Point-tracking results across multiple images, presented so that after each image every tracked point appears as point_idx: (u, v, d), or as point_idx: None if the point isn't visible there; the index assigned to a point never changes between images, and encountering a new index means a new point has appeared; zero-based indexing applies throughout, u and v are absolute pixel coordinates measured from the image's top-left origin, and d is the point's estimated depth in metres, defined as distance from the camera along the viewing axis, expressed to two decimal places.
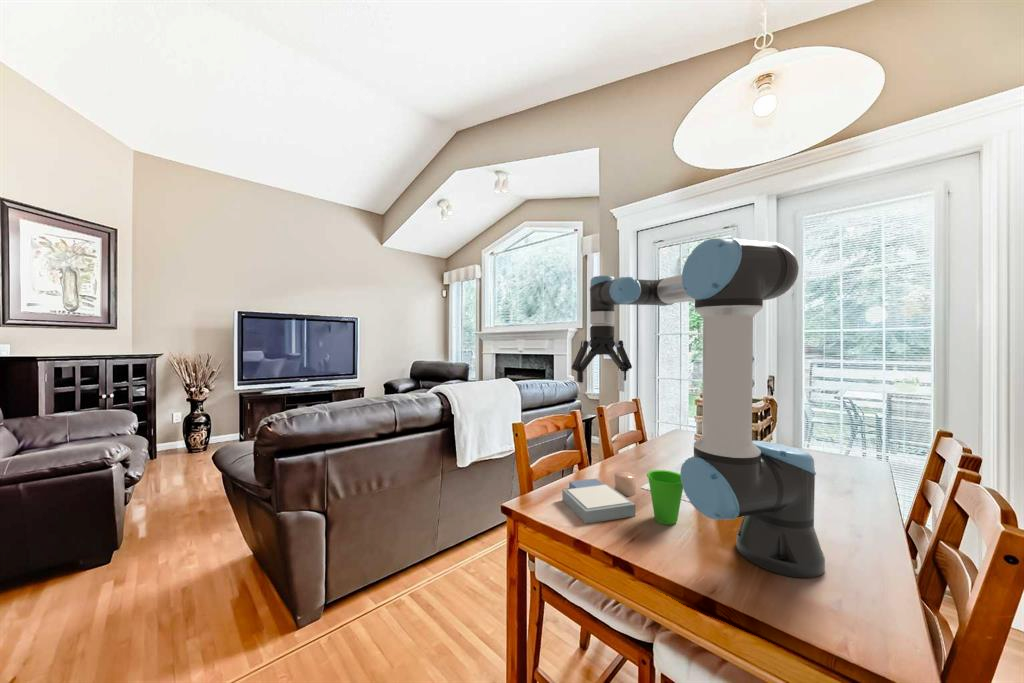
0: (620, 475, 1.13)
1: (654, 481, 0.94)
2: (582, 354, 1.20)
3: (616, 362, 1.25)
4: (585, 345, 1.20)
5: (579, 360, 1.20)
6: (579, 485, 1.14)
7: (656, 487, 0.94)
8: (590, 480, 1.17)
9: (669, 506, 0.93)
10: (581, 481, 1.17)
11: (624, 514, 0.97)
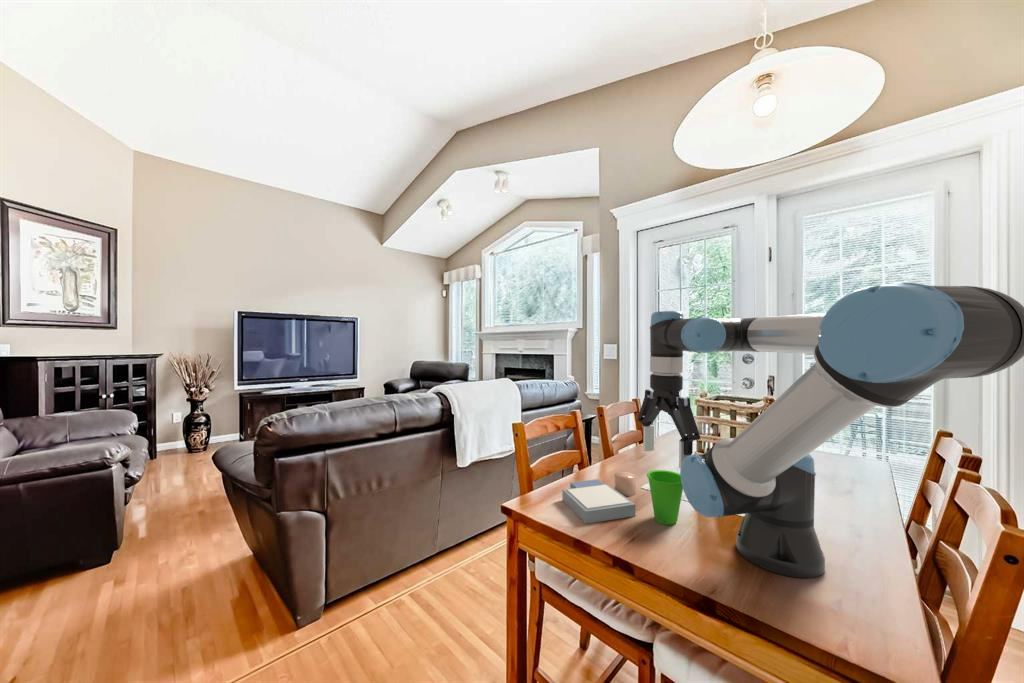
0: (620, 475, 1.13)
1: (654, 481, 0.94)
2: (643, 404, 1.03)
3: None
4: (645, 395, 1.02)
5: (641, 411, 1.04)
6: (580, 486, 1.13)
7: (656, 487, 0.94)
8: (591, 481, 1.17)
9: (669, 506, 0.93)
10: (582, 482, 1.16)
11: (624, 514, 0.97)
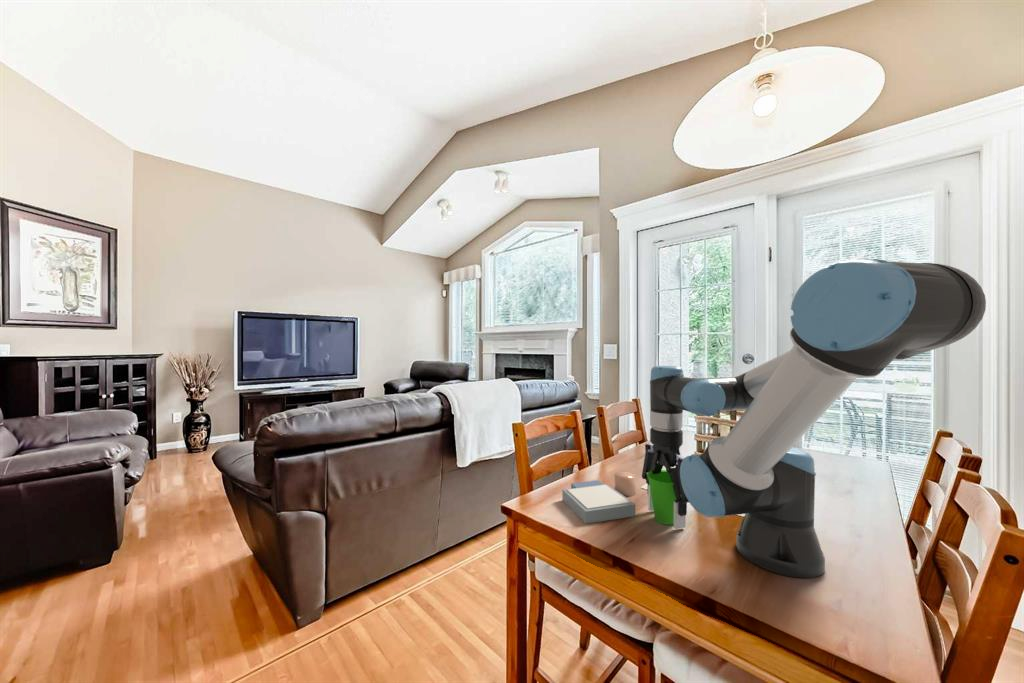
0: (620, 475, 1.13)
1: (654, 481, 0.94)
2: (645, 460, 1.02)
3: None
4: (646, 449, 1.02)
5: (644, 467, 1.03)
6: None
7: (656, 487, 0.94)
8: (592, 482, 1.16)
9: (669, 506, 0.93)
10: (583, 483, 1.15)
11: (624, 514, 0.97)
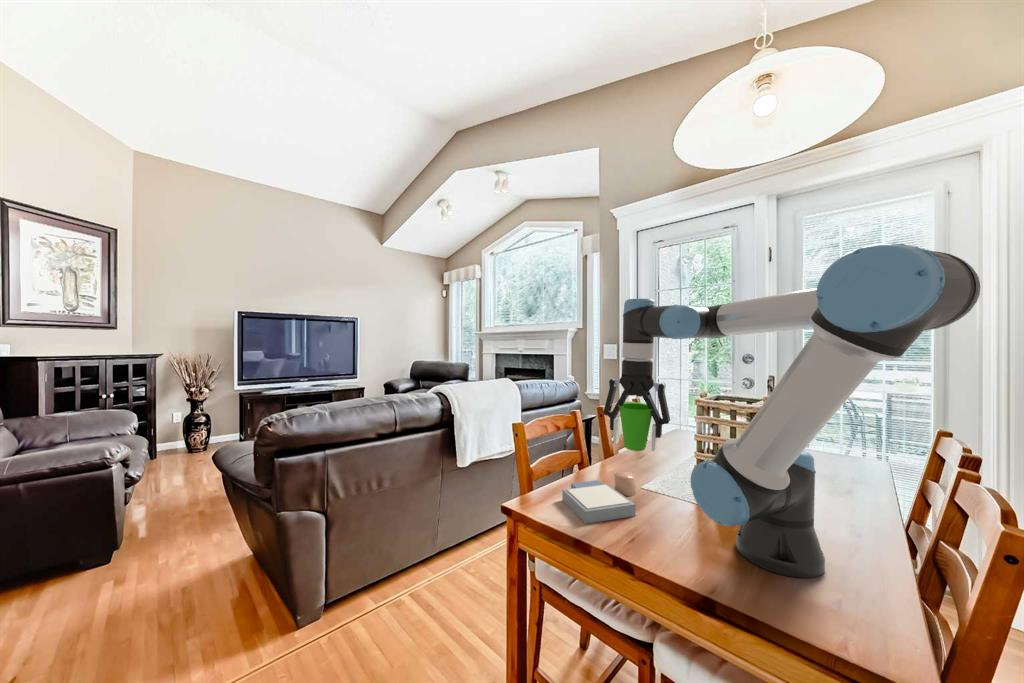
0: (620, 475, 1.13)
1: (635, 411, 0.95)
2: (609, 396, 1.02)
3: None
4: (611, 385, 1.01)
5: (607, 403, 1.02)
6: None
7: (637, 416, 0.96)
8: (592, 482, 1.16)
9: (646, 432, 0.97)
10: (583, 483, 1.15)
11: (624, 514, 0.97)
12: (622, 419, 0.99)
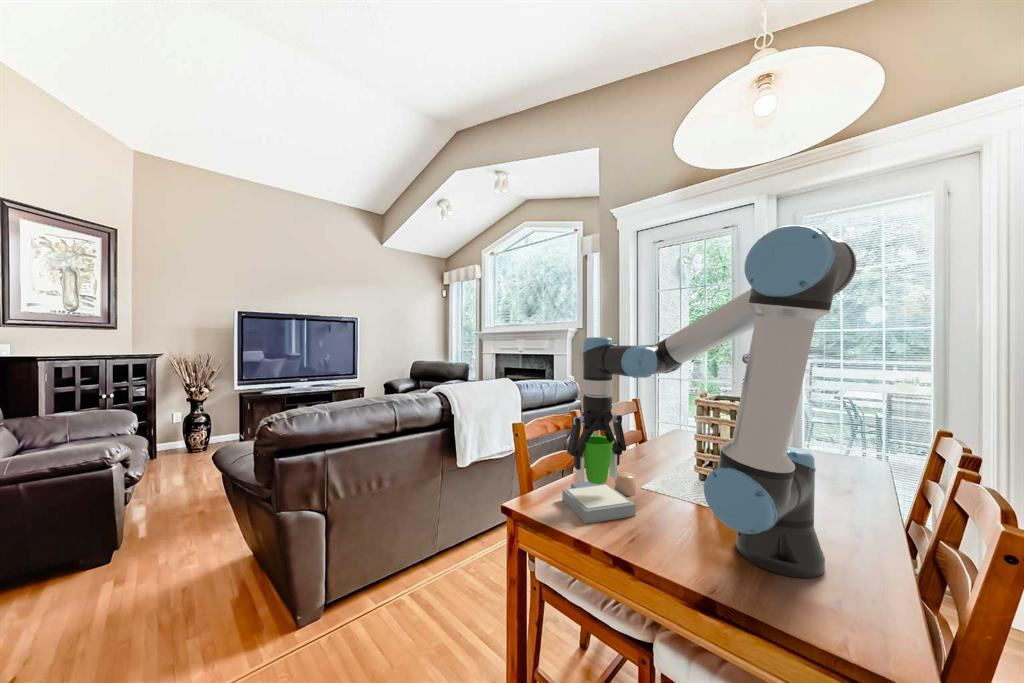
0: (620, 475, 1.13)
1: (608, 445, 0.99)
2: (576, 435, 1.00)
3: (609, 441, 1.04)
4: (577, 424, 1.00)
5: (574, 443, 1.00)
6: None
7: (608, 450, 1.00)
8: None
9: (609, 463, 1.03)
10: (583, 483, 1.15)
11: (624, 514, 0.97)
12: (592, 456, 1.00)
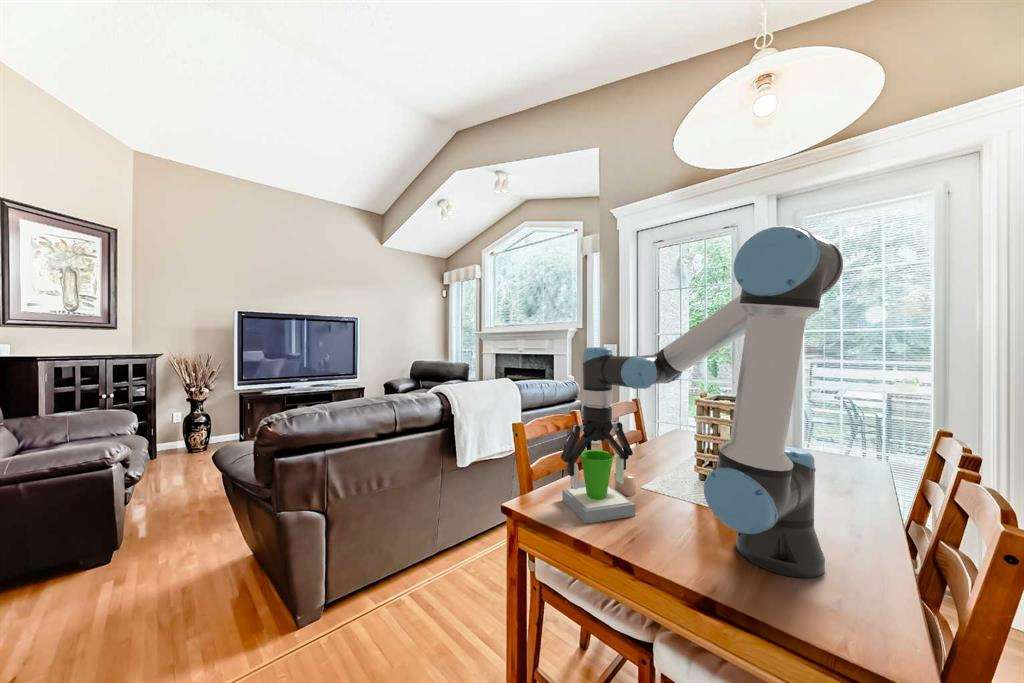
0: None
1: (608, 461, 0.99)
2: (573, 442, 0.99)
3: (614, 448, 1.04)
4: (577, 431, 1.00)
5: (570, 450, 0.99)
6: None
7: (608, 465, 1.00)
8: None
9: None
10: (583, 483, 1.15)
11: (624, 514, 0.97)
12: (592, 471, 1.00)
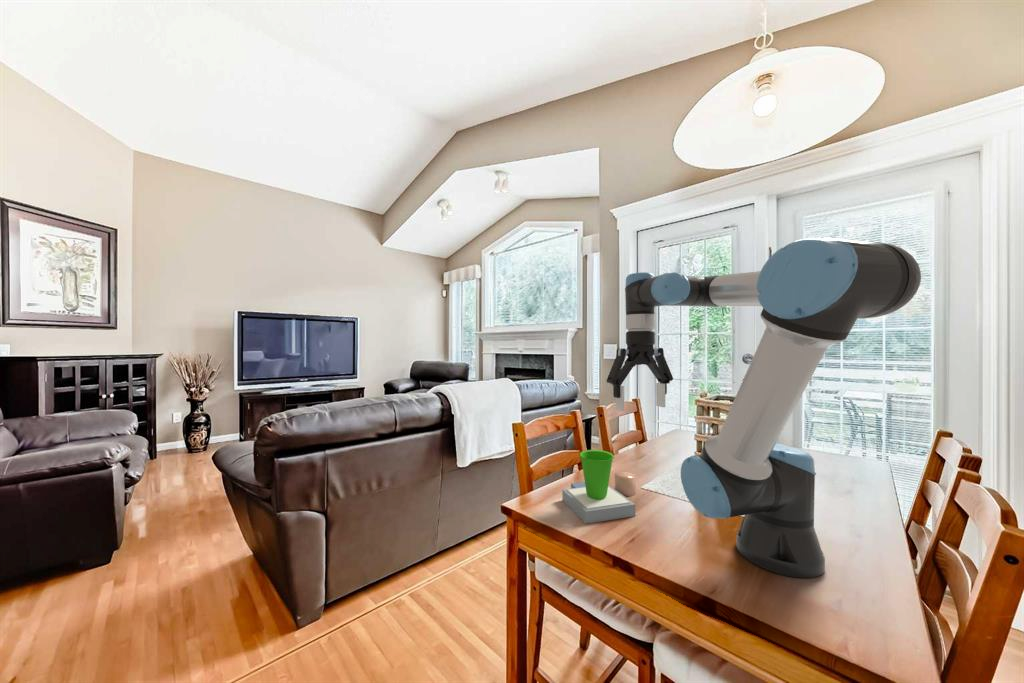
0: (620, 475, 1.13)
1: (608, 461, 0.99)
2: (620, 364, 1.02)
3: (655, 373, 1.07)
4: (623, 354, 1.02)
5: (616, 371, 1.01)
6: None
7: (608, 465, 1.00)
8: None
9: None
10: (583, 483, 1.15)
11: (624, 514, 0.97)
12: (592, 471, 1.00)
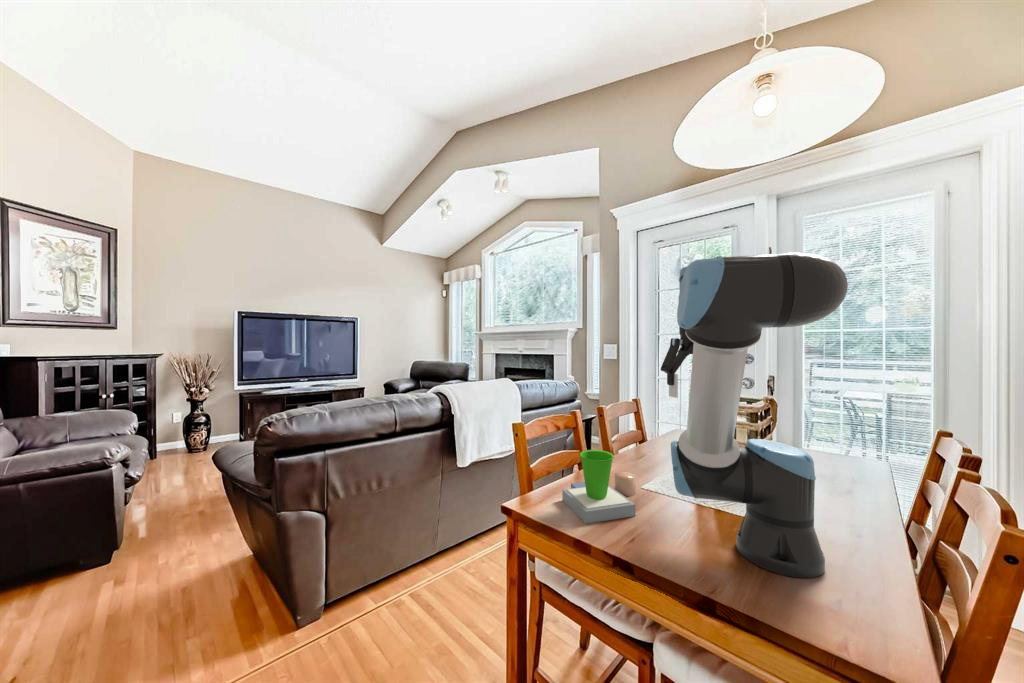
0: (620, 475, 1.13)
1: (608, 461, 0.99)
2: (674, 353, 1.07)
3: None
4: (677, 343, 1.07)
5: (671, 360, 1.06)
6: None
7: (608, 465, 1.00)
8: None
9: None
10: (583, 483, 1.15)
11: (624, 514, 0.97)
12: (592, 471, 1.00)
